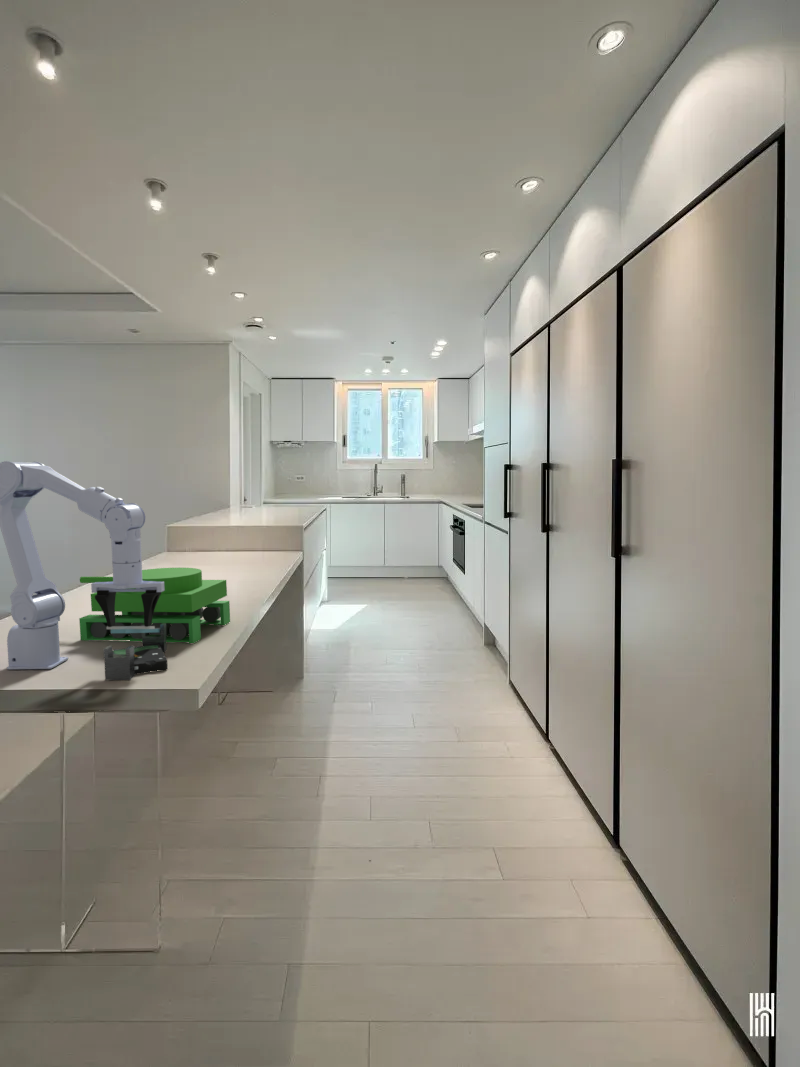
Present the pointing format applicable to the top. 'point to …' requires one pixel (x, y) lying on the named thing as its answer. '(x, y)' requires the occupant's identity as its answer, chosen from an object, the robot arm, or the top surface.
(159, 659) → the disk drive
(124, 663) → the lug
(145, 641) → the hinge bracket
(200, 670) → the top surface
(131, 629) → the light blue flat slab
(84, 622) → the tank
